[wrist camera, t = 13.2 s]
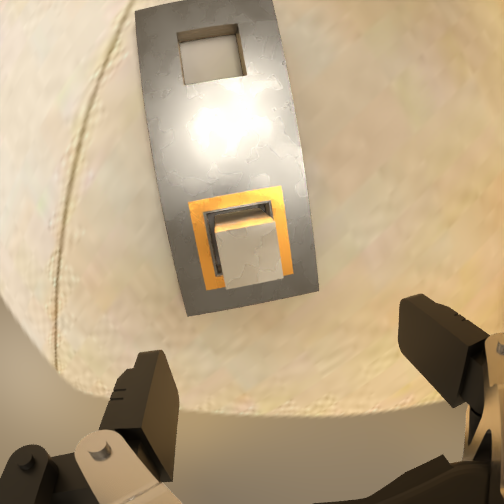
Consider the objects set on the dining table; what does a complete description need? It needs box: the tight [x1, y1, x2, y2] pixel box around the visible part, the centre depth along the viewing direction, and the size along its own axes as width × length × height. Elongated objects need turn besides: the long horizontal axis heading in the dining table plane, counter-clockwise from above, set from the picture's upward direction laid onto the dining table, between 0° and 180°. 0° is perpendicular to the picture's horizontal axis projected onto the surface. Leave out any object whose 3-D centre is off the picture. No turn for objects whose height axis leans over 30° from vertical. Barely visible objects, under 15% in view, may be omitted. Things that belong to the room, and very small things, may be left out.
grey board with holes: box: [135, 0, 319, 316], centre depth 26 cm, size 28×12×3 cm, turn 10°
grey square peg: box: [214, 207, 284, 290], centre depth 25 cm, size 4×4×8 cm
